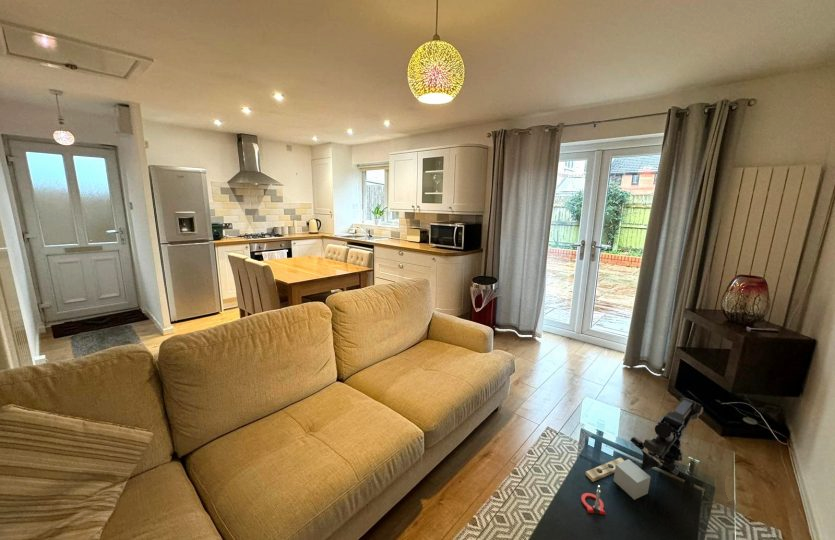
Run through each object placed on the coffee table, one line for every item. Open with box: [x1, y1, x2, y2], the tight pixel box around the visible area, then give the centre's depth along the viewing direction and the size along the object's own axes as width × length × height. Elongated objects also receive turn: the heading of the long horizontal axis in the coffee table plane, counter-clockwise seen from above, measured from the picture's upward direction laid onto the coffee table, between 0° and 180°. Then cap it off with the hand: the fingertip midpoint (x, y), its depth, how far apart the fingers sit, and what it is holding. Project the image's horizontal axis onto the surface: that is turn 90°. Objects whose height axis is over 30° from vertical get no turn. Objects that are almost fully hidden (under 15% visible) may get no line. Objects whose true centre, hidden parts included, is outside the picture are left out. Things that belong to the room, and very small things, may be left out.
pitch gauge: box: [585, 457, 626, 482], centre depth 152 cm, size 22×4×2 cm, turn 110°
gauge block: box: [612, 458, 652, 501], centre depth 143 cm, size 8×10×9 cm
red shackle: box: [580, 485, 606, 516], centre depth 135 cm, size 8×13×9 cm
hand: (642, 470), depth 144 cm, fingers closed
